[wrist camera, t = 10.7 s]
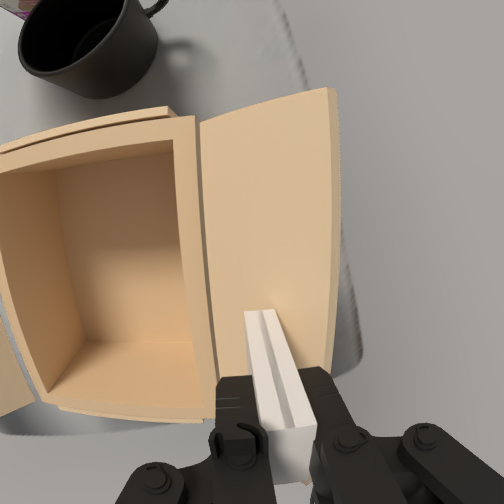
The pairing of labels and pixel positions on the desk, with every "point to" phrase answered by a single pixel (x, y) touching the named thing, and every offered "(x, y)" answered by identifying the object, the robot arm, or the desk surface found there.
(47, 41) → the mug
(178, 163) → the carton
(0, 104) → the desk surface
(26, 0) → the candy bar box
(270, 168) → the flap
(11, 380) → the flap
